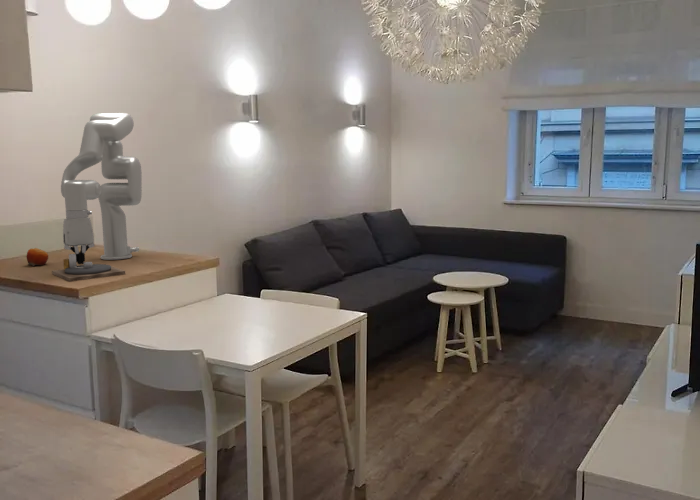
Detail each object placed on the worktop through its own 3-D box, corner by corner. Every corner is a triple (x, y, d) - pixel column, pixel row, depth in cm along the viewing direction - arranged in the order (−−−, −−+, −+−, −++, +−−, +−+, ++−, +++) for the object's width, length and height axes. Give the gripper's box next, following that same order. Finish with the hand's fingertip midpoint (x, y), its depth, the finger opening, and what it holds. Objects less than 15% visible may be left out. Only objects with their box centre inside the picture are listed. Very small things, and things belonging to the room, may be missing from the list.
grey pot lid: (65, 268, 257) (64, 252, 256) (110, 265, 262) (109, 250, 261) (63, 275, 242) (62, 259, 241) (111, 272, 247) (110, 256, 246)
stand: (105, 267, 266) (104, 254, 265) (125, 274, 251) (124, 260, 250) (52, 273, 254) (50, 260, 253) (69, 281, 238) (68, 266, 237)
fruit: (18, 262, 271) (26, 244, 273) (34, 270, 277) (42, 252, 280) (29, 264, 267) (38, 245, 269) (46, 272, 273) (54, 253, 275)
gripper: (94, 212, 261) (98, 260, 264) (53, 215, 252) (57, 264, 255) (100, 214, 255) (103, 262, 258) (58, 217, 246) (62, 267, 249)
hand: (80, 263), depth 256 cm, fingers closed
